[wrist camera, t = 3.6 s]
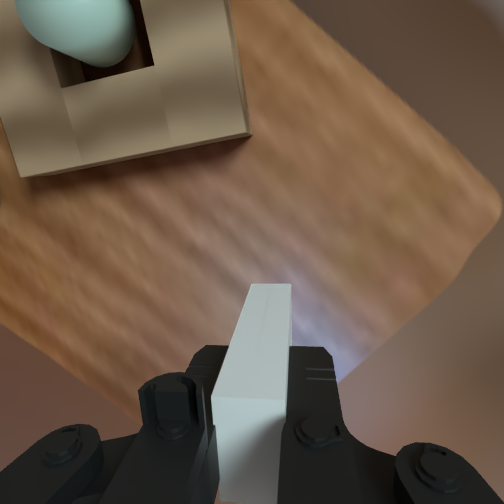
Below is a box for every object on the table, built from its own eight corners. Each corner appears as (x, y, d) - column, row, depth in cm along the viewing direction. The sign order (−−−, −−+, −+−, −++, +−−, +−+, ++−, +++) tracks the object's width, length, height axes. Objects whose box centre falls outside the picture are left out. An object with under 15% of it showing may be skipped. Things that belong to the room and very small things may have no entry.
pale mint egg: (53, -9, 27) (0, -45, 22) (124, -31, 26) (85, -73, 21) (76, 74, 28) (30, 58, 24) (144, 57, 27) (112, 36, 23)
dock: (-23, -66, 29) (-71, -99, 26) (205, -144, 26) (188, -196, 22) (51, 175, 34) (20, 177, 30) (252, 135, 31) (246, 132, 27)
